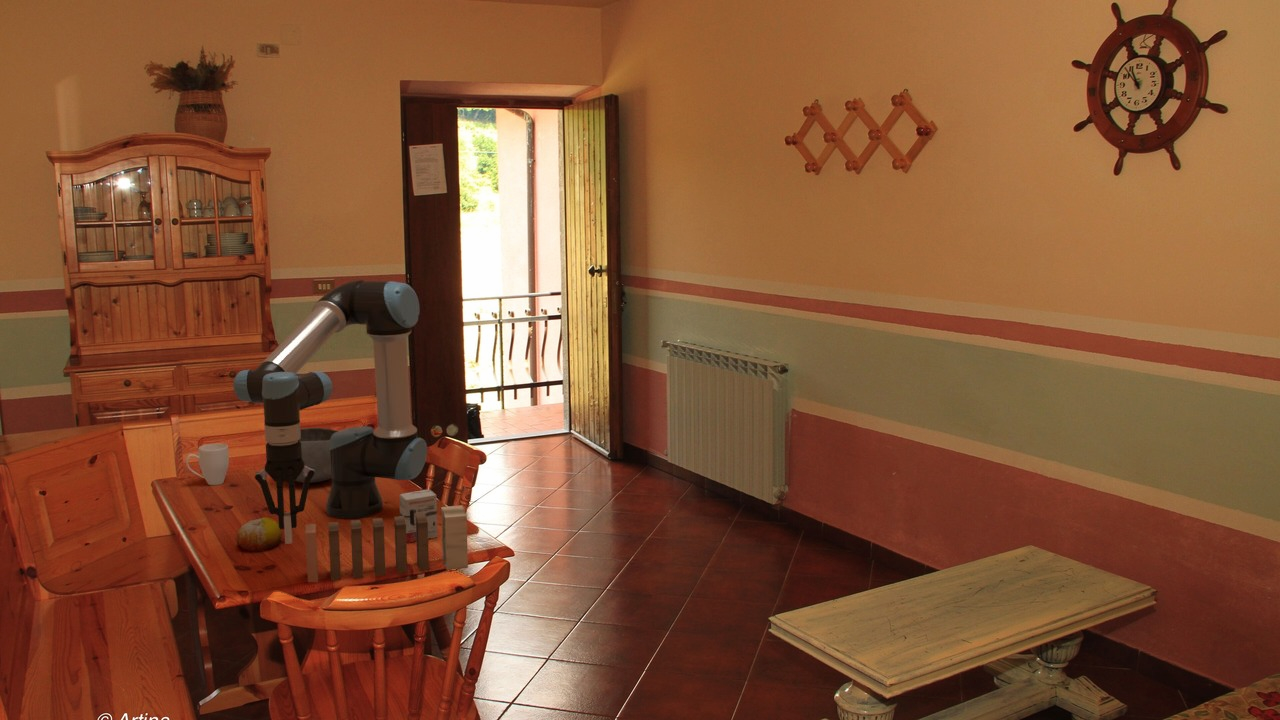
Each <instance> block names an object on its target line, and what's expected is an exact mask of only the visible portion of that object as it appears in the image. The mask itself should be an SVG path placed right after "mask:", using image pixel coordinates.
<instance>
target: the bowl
mask: <svg viewBox="0 0 1280 720" xmlns="http://www.w3.org/2000/svg"><path fill="white" fill-rule="evenodd" d="M300 430H301V438H300V439H299V441H300V442H301V450H302V460H303V462H304V464H305V466H307V467H309V468H314V475H313V477H312V479H311V480H310V484H313V483H314V484H316V483H321V482H325V481H328V480H330V479H332V475H331V456H330V438H331V436H332V435H333V434H334V433H335V432H338V431H339V430H337V429H336V430H334V429H333V428H332V429H330V428H322V427H308V428H300ZM303 473H304V471H303V470H302V472H301V473H300V475H299V476H298V477H297V479H296V480H295V482H299V483H301V484H302V483H304V478H305V477H304V475H303Z"/></svg>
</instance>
